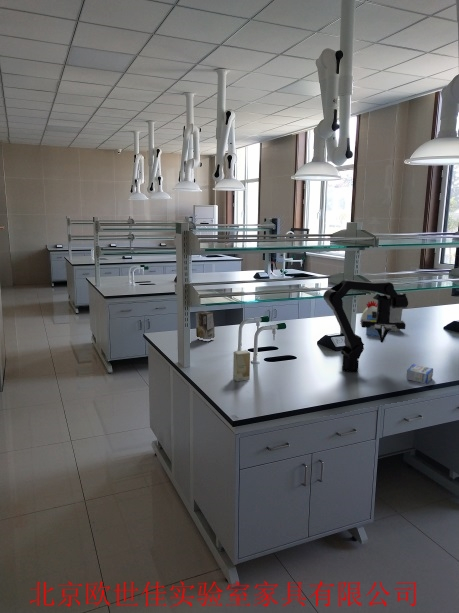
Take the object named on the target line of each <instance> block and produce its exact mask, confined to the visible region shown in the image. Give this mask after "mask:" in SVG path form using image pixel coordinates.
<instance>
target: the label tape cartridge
mask: <svg viewBox="0 0 459 613" xmlns="http://www.w3.org/2000/svg"><path fill="white" fill-rule="evenodd" d="M367 319H370V320H371V321H372V322H376V319H373V318H372V315H367ZM381 329H382V332H383V326H381ZM365 330H366V332H365V333H366V334H367V336H374V335H376V336H375V337H379V334H378V331H377V330H375V329H374V326H370V327H369V328H365ZM366 334H365V335H366Z"/></svg>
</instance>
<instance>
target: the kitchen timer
mask: <svg viewBox="0 0 459 613" xmlns="http://www.w3.org/2000/svg"><path fill="white" fill-rule="evenodd" d="M372 311H374V312H377V302H376V301H374V300H373V301H372V300H371V301H368V302H366V308H365V309H364V310H363V311H362V314H361V317H360V321H359V322H361V320H362V319H367V315H372Z"/></svg>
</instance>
